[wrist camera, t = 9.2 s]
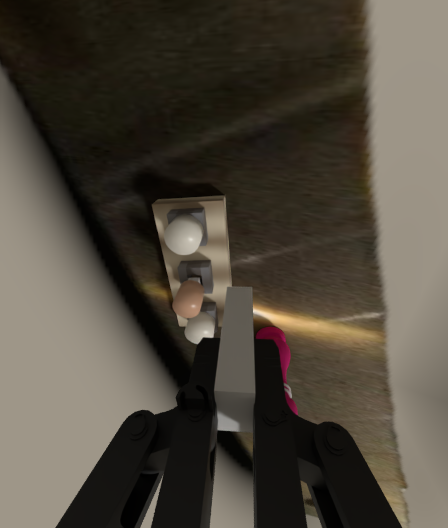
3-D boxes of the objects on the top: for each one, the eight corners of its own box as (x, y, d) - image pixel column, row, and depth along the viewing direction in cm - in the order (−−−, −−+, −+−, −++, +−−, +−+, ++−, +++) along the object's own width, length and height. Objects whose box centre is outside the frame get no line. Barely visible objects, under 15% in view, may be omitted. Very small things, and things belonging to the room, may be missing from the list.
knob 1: (171, 210, 37) (160, 222, 32) (203, 208, 36) (197, 220, 32) (177, 240, 39) (167, 255, 35) (207, 239, 39) (202, 254, 34)
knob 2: (189, 303, 46) (182, 323, 41) (215, 302, 45) (211, 323, 40) (193, 323, 48) (187, 344, 43) (217, 323, 47) (214, 344, 43)
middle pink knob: (181, 272, 39) (170, 296, 34) (205, 271, 39) (198, 295, 33) (184, 292, 41) (175, 318, 36) (208, 291, 41) (201, 318, 35)
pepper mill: (249, 344, 54) (250, 447, 37) (258, 321, 51) (263, 423, 33) (281, 351, 54) (296, 456, 37) (291, 328, 51) (314, 433, 33)
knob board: (158, 199, 39) (145, 209, 35) (224, 195, 38) (221, 205, 33) (182, 316, 52) (176, 335, 47) (234, 316, 50) (232, 335, 46)
